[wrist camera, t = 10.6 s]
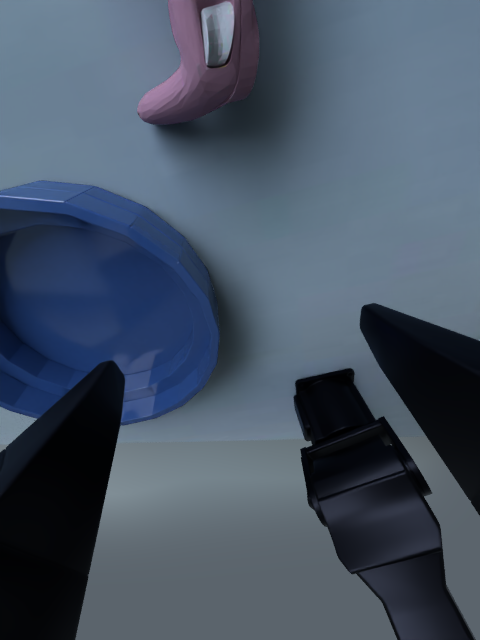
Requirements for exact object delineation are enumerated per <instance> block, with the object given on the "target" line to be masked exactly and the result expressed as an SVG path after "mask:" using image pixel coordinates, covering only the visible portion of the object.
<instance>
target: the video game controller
mask: <svg viewBox="0 0 480 640" xmlns="http://www.w3.org/2000/svg"><path fill="white" fill-rule="evenodd" d="M168 7H169V17H170V22H171V28H172V32H173V36H174V39H175V42H176V44H177V47H178V49H179V50H180V55H181V63H180V66H179V68H178V70H177V71H176V72H175V73H174V74H173V75H172V76H171V77H170V78H169V79H168V80H166V81H165V82H163V83H161V84H160V85H158V86H157V87H155V88H154V89H152V90H150V91H149V92H147V93H146V94H145V95H144V96H143V98H142V99H141V101H140V102H139V105H138V109H137V112H138V115H139V117H140V118H141V119H142V120H143V121H145V122H147V123H150V124H157V125H164V124H177V123H181V122H185V121H191V120H194V119H197V118H199V117H202V116H204V115H206V114H208V113H210V112H212V111H214V110H216V109H218V108H220V107H222V106H224V105H226V104H227V103H231V102H235V101H239V100H243V99H245V98H246V97H247V96H248V95H249V93H250V92H251V90H252V88H253V85H254V82H255V78H256V73H257V67H258V61H259V30H258V23H257V18H256V13H255V8H254V4H253V0H168Z"/></svg>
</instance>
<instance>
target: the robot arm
mask: <svg viewBox="0 0 480 640" xmlns="http://www.w3.org/2000/svg"><path fill="white" fill-rule="evenodd" d="M360 329H361V332H362V333H363V335H364V337H365V339H366V341H367V343H368V345H369V347H370V349H371V351H372V353H373V355H374V357H375V359H376V361H377V362H378V364H379V366H380V368H381V369H382V371H383V372H384V374H385V375H386V377H387V378H388V380H389V381H390V383H391V384H392V386H393V387H394V389H395V390H396V392H397V393H398V395H399V396H400V398H401V399H402V401H403V402H404V404H405V405H406V406H407V408H408V409H409V411H410V412H411V414H412V415H413V417H414V418H415V420H416V421H417V423H418V424H419V426H420V427H421V429H422V430H423V432H424V433H425V435H426V436H427V438H428V439H429V440H430V442H431V444H432V445H433V446H434V448H435V449H436V451H437V452H438V454H439V456H440V457H441V458H442V460H443V461H444V463H445V464H446V466H447V467H448V469H449V470H450V472H451V473H452V475H453V476H454V478H455V479H456V481H457V482H458V483H459V485H460V487H461V488H462V490H463V491H464V493H465V494H466V496H467V497H468V499H469V500H470V501H471V503H472V505H473V506H474V507H475V509H476V511H477V512H478V514H479V515H480V341H478V340H476V339H473V338H470V337H467V336H465V335H462V334H459V333H456V332H454V331H451V330H448V329H445V328H442V327H440V326H437V325H434V324H431V323H429V322H426V321H423V320H420V319H418V318H415V317H412V316H409V315H406V314H404V313H401V312H398V311H395V310H393V309H390V308H387V307H384V306H381V305H379V304H376V303H372V304H368V305H364V306H363V307H362V309H361V316H360ZM353 382H354V371H353V370H352V369H345V370H340V371H336V372H331V373H327V374H322V375H318V376H313V377H309V378H304V379H300V380H297V381H296V382H295V386H296V395H295V396H294V406H295V411H296V414H297V417H298V420H299V423H300V426H301V429H302V432H303V435H304V438H305V440H306V441H311V442H312V446H310V447H307V448H306V447H304V448H302V449H300V450H301V456H302V457H301V461H302V466H303V471H304V477H305V482H306V488H307V498H308V504H309V506H310V507H311V508H312V509H314V510H315V512H316V514H317V516H318V518H319V520H320V521H321V523H322V524H323V525H324V526H326V527H328V529H329V532H330V535H331V537H332V540H333V543H334V546H335V550H336V553H337V556H338V558H339V559H340V561H341V562H342V563H343V565H344V566H345V567H346V569H347V570H348V571H349V572H350V573H351V574H355V573H356V574H357V575H358V576H359V577H360V578H361V579H362V581H363V582H364V583H365V584H366V585H367V586H368V587H369V588H370V589H371V590H372V592H373V593H374V594H375V595H376V596H377V597H378V598H379V599H380V600H381V602H382V603H383V606H384V608H385V610H386V613H387V615H388V617H389V620H390V622H391V625H392V627H393V630H394V632H395V635H396V637H397V640H476V639H475V637H474V635H473V633H472V632H471V630H470V628H469V626H468V624H467V622H466V621H465V619H464V617H463V615H462V613H461V611H460V609H459V607H458V606H457V604H456V602H455V600H454V598H453V596H452V595H451V593H450V591H449V589H448V587H447V585H446V581H445V569H444V559H443V549H442V538H441V529H440V524H439V522H438V520H437V518H436V517H435V515H434V513H433V512H432V510H431V508H430V507H429V505H428V503H427V501H426V500H425V498H424V496H426V495H430V494H432V492H431V490H430V488H429V486H428V484H427V482H426V481H425V479H424V477H423V475H422V474H421V472H420V470H419V469H418V467H417V466H416V464H415V462H414V461H413V459H412V458H411V456H410V455H409V453H408V451H407V450H406V449H405V447H404V446H403V444H402V443H401V441H400V440H399V438H398V437H397V435H396V434H395V432H394V431H393V429H392V428H391V426H390V425H389V423H388V422H387V420H386V419H385V417H384V416H383V417H380V418H378V420H375V418H374V416H373V415H372V413H371V411H370V410H369V408H368V406H367V405H366V403H365V401H364V400H363V398H362V396H361V395H360V393H359V391H358V390H357V388H356V386H355V385H354V383H353ZM124 389H125V377H124V374H123V373H122V371H121V370H120V368H119V367H118V366H117V364H116V363H115V362H114V361H113V360H109V361H105V362H101V363H100V364H98V365H97V366H96V367H95V368H94V369H93V370H92V371H91V372H89V373H88V374H87V375H86V376H85V377H84V378H83V379H82V380H81V381H79V382H78V383H77V384H76V385H75V386H74V387H73V388H72V389H71V390H69V391H68V392H67V393H66V394H65V395H64V396H63V397H62V398H61V399H59V400H58V401H57V402H56V403H55V404H54V405H53V406H52V407H51V408H49V409H48V410H47V411H46V412H45V413H44V414H43V415H42V416H41V417H39V418H38V419H37V420H36V421H35V422H34V423H33V424H32V425H31V426H29V427H28V428H27V429H26V430H25V431H24V432H23V433H22V434H20V435H19V436H18V437H17V438H16V439H15V440H14V441H13V442H12V443H10V444H9V445H8V446H7V447H6V449H4V450H3V451H1V452H0V640H75V638H76V633H77V628H78V624H79V619H80V614H81V609H82V604H83V600H84V595H85V591H86V586H87V581H88V574H89V570H90V566H91V561H92V556H93V552H94V547H95V542H96V537H97V533H98V528H99V523H100V519H101V514H102V509H103V504H104V500H105V495H106V490H107V486H108V481H109V476H110V471H111V467H112V462H113V457H114V452H115V448H116V443H117V438H118V434H119V429H120V424H121V418H122V409H123V399H124ZM390 444H392V445H390Z"/></svg>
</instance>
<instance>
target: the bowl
mask: <svg viewBox="0 0 480 640" xmlns="http://www.w3.org/2000/svg"><path fill="white" fill-rule="evenodd" d="M219 338H220V329H219V317H218V305H217V299H216V295H215V292H214V289H213V285H212V282H211V279H210V276H209V272H208V270H207V268H206V266H205V265H204V264H203V262H202V261H201V259H200V258H199V257H198V255H197V254H196V252H195V251H194V250H193V248H192V247H191V246H190V244H189V243H188V241H187V240H186V239H185V237H184V236H183V235H181V234H180V233H179V232H178V231H176V230H175V229H174V228H172V227H171V226H170V225H169V224H167V223H166V222H165V221H163V220H162V219H161V218H160V217H158V216H157V215H156V214H155V213H153V212H152V211H151V210H149V209H148V208H147V207H145V206H143V205H140V204H138V203H136V202H133V201H131V200H128V199H126V198H123V197H121V196H119V195H116V194H114V193H111V192H109V191H106V190H104V189H102V188H99V187H95V186H91V185H81V184H72V183H62V182H52V181H43V180H42V181H36V182H32V183H28V184H24V185H20V186H16V187H12V188H8V189H4V190H0V407H3V408H5V409H7V410H9V411H12V412H16V413H19V414H23V415H26V416H30V417H33V418H37V419H38V418H39V417H41V416H42V415H43V414H44V413H45V412H46V411H47V410H48V409H49V408H51V407H52V406H53V405H54V404H55V403H56V402H57V401H58V400H59V399H61V398H62V397H63V396H64V395H65V394H66V393H67V392H68V391H69V390H71V389H72V388H73V387H74V386H75V385H76V384H77V383H78V382H79V381H81V380H82V379H83V378H84V377H85V376H86V375H87V374H88V373H89V372H91V371H92V370H93V369H94V368H95V367H96V366H97V365H98V364H100V363H101V362H105V361H109V360H113V361H114V362H115V363H116V364H117V366H118V367H119V368H120V370H121V371H122V373H123V374H124V377H125V389H124V399H123V409H122V418H121V424H120V425H128V424H132V423H137V422H141V421H146V420H150V419H155V418H158V417H160V416H162V415H164V414H166V413H168V412H171V411H173V410H175V409H177V408H179V407H181V406H183V405H184V404H185V403H186V402H188V401H189V400H190V399H191V398H192V397H193V396H195V395H196V394H197V393H198V392H199V391H200V390H201V389H203V387H204V386H205V384H206V383H207V381H208V379H209V377H210V375H211V373H212V372H213V370H214V368H215V366H216V364H217V360H218V349H219Z"/></svg>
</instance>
